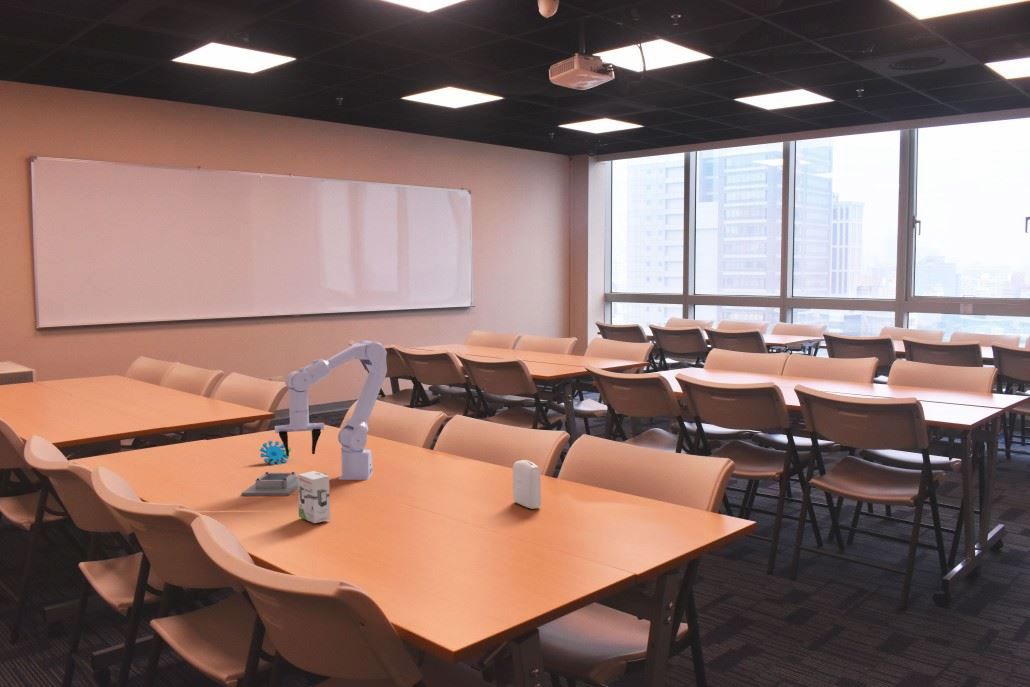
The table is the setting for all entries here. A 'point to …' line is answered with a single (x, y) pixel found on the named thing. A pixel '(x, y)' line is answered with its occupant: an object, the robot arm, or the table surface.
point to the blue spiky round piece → (274, 453)
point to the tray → (273, 485)
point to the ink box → (314, 496)
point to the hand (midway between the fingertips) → (300, 454)
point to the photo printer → (526, 484)
